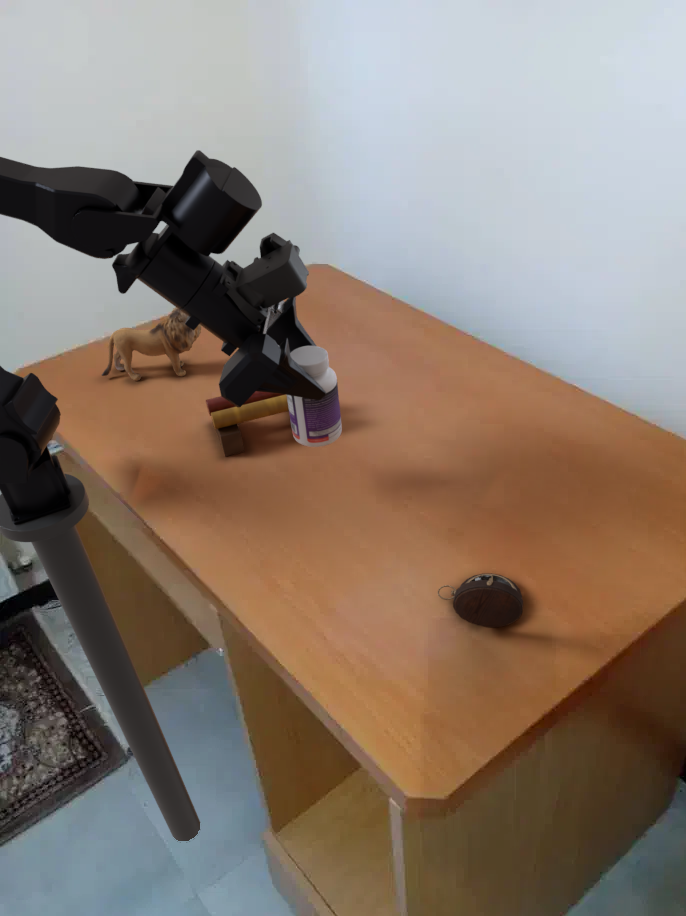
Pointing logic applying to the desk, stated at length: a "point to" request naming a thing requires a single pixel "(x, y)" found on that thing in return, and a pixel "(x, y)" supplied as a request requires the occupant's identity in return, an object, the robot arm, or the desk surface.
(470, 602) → the brown coin purse
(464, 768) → the desk surface
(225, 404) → the rod rack
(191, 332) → the lion figurine
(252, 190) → the robot arm
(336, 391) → the pill bottle
